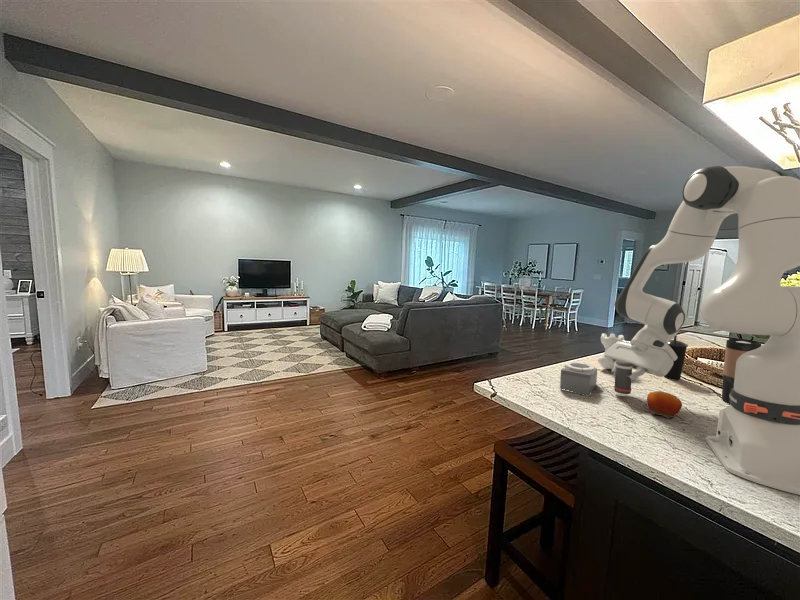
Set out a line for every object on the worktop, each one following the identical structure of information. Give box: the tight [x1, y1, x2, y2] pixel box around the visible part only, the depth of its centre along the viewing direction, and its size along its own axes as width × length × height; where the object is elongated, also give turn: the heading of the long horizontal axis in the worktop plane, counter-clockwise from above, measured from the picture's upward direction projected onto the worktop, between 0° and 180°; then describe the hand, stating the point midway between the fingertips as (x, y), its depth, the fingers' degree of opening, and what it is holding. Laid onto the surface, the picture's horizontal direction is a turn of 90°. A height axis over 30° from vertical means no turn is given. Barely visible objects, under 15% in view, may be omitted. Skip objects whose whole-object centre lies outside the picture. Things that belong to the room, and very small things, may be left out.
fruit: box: [646, 390, 683, 420], centre depth 95 cm, size 8×8×8 cm
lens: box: [613, 361, 633, 395], centre depth 109 cm, size 5×5×10 cm
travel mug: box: [721, 338, 762, 404], centre depth 103 cm, size 8×8×20 cm
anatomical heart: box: [597, 332, 625, 370], centre depth 137 cm, size 10×11×15 cm
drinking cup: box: [663, 333, 689, 381], centre depth 126 cm, size 8×8×20 cm
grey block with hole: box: [559, 361, 598, 397], centre depth 118 cm, size 14×9×8 cm, turn 140°
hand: (621, 376), depth 108 cm, fingers closed on lens, 4 cm apart
